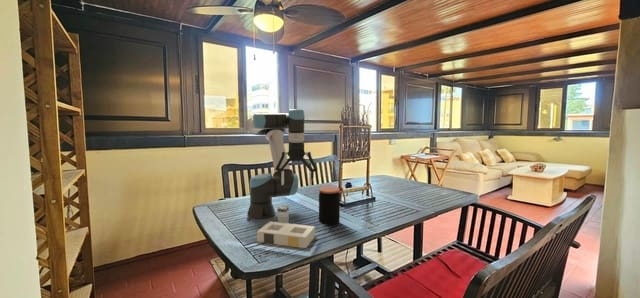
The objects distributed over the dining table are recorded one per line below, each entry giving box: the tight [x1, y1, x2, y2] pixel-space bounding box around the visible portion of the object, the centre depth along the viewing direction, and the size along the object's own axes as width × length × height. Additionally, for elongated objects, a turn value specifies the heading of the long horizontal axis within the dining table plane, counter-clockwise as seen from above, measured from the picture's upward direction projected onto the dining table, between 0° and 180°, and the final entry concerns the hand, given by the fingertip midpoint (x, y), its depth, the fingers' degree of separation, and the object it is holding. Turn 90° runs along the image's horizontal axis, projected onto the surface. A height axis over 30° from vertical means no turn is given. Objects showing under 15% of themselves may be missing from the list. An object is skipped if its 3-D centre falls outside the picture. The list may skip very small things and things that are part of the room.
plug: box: [276, 204, 290, 223], centre depth 133 cm, size 4×4×10 cm
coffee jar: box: [318, 186, 341, 227], centre depth 142 cm, size 11×11×18 cm
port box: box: [256, 221, 316, 253], centre depth 120 cm, size 22×12×6 cm, turn 73°
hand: (296, 184), depth 135 cm, fingers open, 13 cm apart
